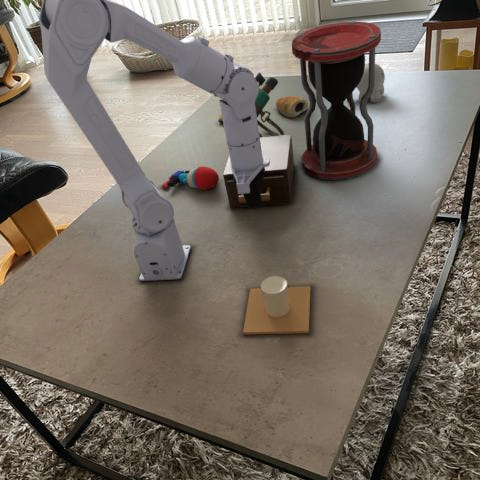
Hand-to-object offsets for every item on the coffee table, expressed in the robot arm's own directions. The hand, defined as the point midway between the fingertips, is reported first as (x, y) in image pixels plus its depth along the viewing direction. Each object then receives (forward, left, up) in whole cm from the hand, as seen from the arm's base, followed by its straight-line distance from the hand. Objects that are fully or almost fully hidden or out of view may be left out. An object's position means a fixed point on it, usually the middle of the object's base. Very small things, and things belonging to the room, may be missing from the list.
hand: (254, 206), depth 93 cm
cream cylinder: (-25, -6, -3) cm, 26 cm away
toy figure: (+16, +16, -4) cm, 23 cm away
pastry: (+50, -4, -4) cm, 50 cm away
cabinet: (+13, 0, -3) cm, 13 cm away
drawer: (+9, 0, -3) cm, 10 cm away
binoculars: (+33, +4, -4) cm, 33 cm away
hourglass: (+21, -16, -4) cm, 27 cm away
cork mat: (-25, -6, -3) cm, 26 cm away
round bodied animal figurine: (+53, -22, -4) cm, 57 cm away
